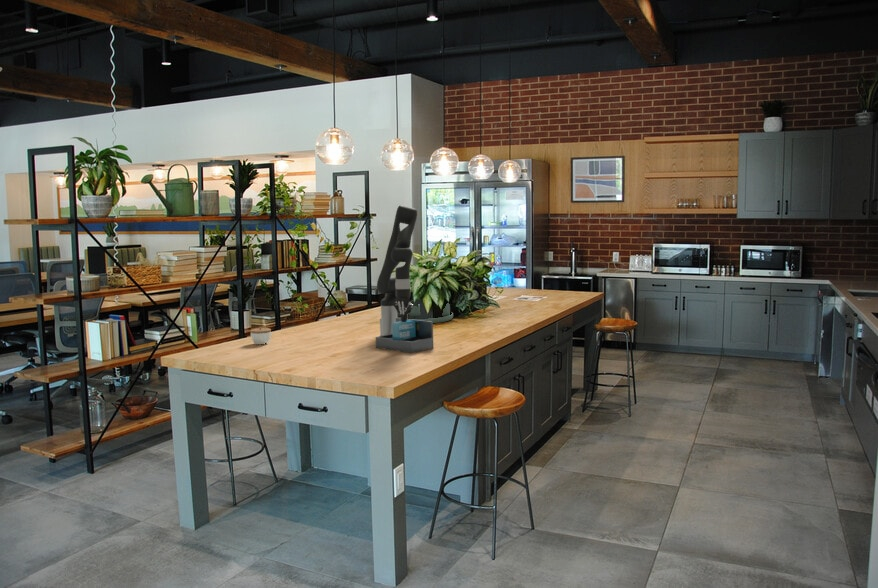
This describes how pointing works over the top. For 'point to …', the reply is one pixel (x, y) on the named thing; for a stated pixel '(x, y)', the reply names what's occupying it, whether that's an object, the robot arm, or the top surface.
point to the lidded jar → (260, 335)
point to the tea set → (445, 314)
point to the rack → (409, 339)
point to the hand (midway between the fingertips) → (404, 321)
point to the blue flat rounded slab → (403, 330)
